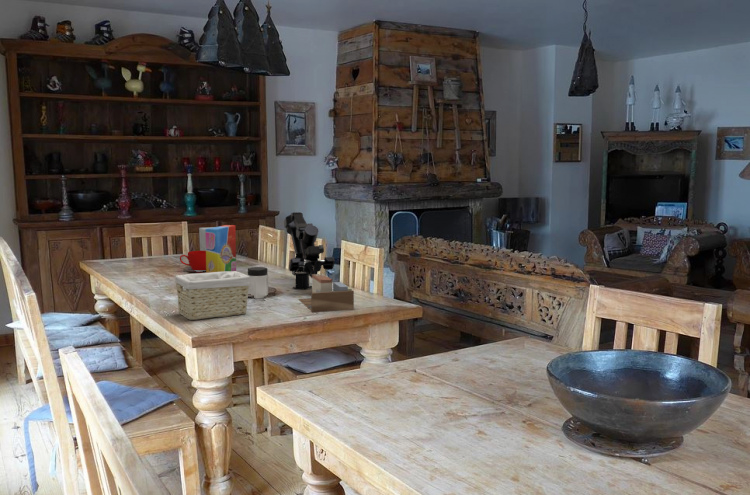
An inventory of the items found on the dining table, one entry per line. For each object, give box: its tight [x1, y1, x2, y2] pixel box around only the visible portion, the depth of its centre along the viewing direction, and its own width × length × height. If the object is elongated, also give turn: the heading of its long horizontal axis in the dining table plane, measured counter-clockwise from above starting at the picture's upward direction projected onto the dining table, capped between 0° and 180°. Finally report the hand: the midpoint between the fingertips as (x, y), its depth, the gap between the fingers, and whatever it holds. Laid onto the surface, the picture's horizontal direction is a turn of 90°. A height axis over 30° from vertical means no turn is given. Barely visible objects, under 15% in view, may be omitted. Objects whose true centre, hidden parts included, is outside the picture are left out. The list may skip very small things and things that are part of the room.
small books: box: [332, 281, 353, 292], centre depth 256 cm, size 10×5×8 cm, turn 19°
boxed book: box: [311, 273, 333, 293], centre depth 263 cm, size 14×4×10 cm, turn 19°
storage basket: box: [174, 270, 250, 321], centre depth 245 cm, size 24×16×15 cm
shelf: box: [297, 289, 355, 313], centre depth 259 cm, size 25×16×8 cm, turn 19°
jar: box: [247, 266, 269, 300], centre depth 277 cm, size 9×8×12 cm
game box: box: [205, 224, 237, 273], centre depth 299 cm, size 21×6×27 cm, turn 168°
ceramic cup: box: [179, 250, 206, 271], centre depth 340 cm, size 13×17×10 cm
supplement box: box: [198, 226, 215, 251], centre depth 390 cm, size 13×13×18 cm
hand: (315, 280), depth 274 cm, fingers closed
